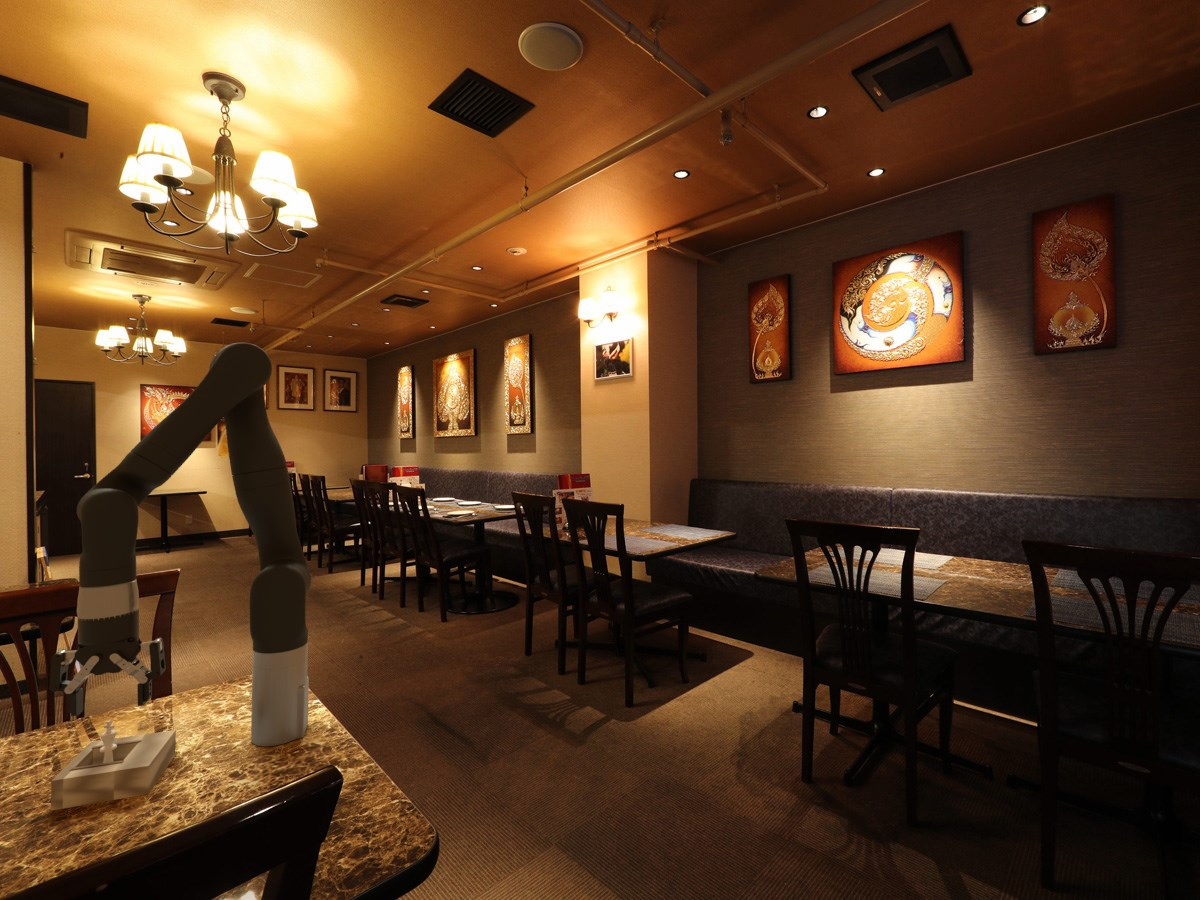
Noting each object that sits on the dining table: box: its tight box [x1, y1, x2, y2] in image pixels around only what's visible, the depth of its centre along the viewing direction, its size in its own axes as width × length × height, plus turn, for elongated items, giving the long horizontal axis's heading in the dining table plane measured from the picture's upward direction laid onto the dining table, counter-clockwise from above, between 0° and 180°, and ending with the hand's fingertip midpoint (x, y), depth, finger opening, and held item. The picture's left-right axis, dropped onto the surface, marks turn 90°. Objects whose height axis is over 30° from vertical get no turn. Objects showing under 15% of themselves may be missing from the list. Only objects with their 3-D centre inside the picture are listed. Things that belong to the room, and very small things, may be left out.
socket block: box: [50, 729, 177, 811], centre depth 91 cm, size 12×12×5 cm
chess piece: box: [100, 720, 118, 763], centre depth 91 cm, size 5×5×10 cm
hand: (110, 708), depth 90 cm, fingers open, 8 cm apart
